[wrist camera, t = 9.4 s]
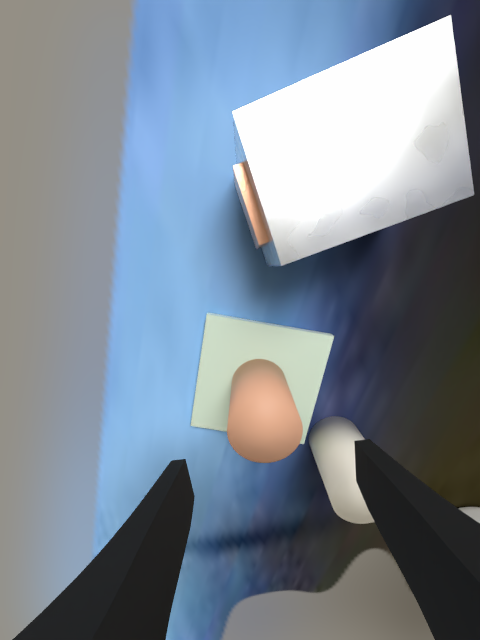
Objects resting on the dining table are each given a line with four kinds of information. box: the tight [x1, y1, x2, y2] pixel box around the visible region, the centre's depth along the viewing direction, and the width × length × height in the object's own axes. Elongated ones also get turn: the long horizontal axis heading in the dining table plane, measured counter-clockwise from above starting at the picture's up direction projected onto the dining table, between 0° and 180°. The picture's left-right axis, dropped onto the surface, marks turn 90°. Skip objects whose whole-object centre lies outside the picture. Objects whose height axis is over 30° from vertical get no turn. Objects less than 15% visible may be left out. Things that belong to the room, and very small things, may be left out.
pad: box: [191, 313, 334, 444], centre depth 17 cm, size 9×9×1 cm
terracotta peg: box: [227, 359, 303, 463], centre depth 15 cm, size 4×4×5 cm
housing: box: [233, 15, 474, 266], centre depth 12 cm, size 9×6×6 cm
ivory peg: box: [309, 416, 375, 524], centre depth 16 cm, size 4×4×5 cm
